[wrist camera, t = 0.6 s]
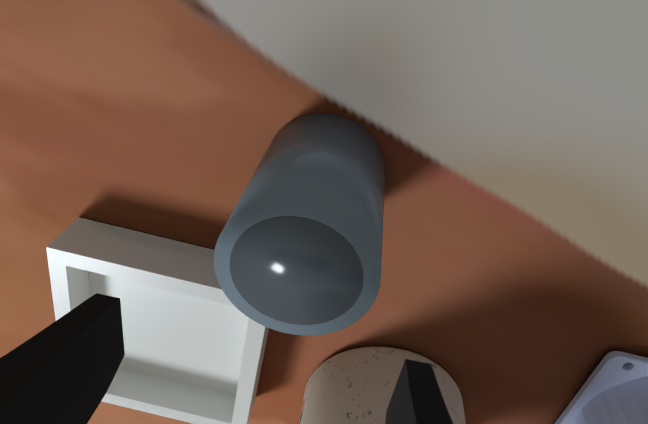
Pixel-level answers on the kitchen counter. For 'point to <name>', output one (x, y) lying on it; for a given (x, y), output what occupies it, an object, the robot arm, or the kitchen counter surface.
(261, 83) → the kitchen counter surface
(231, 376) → the tray
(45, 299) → the kitchen counter surface
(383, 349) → the teacup with lid
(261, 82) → the kitchen counter surface
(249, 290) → the tumbler
